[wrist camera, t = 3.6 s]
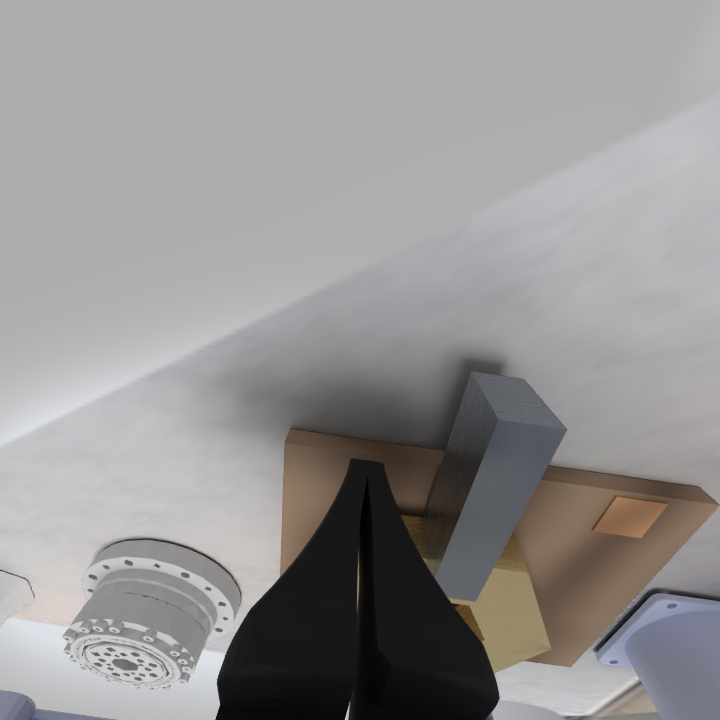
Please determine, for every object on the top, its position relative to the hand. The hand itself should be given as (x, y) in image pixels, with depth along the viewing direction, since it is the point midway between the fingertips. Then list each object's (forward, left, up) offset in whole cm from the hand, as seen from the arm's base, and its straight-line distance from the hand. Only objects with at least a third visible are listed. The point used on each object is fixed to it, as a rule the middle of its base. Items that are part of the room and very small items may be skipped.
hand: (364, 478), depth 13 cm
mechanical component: (+12, +15, -3) cm, 19 cm away
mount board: (-6, +8, -2) cm, 10 cm away
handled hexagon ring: (-4, +5, -1) cm, 7 cm away
